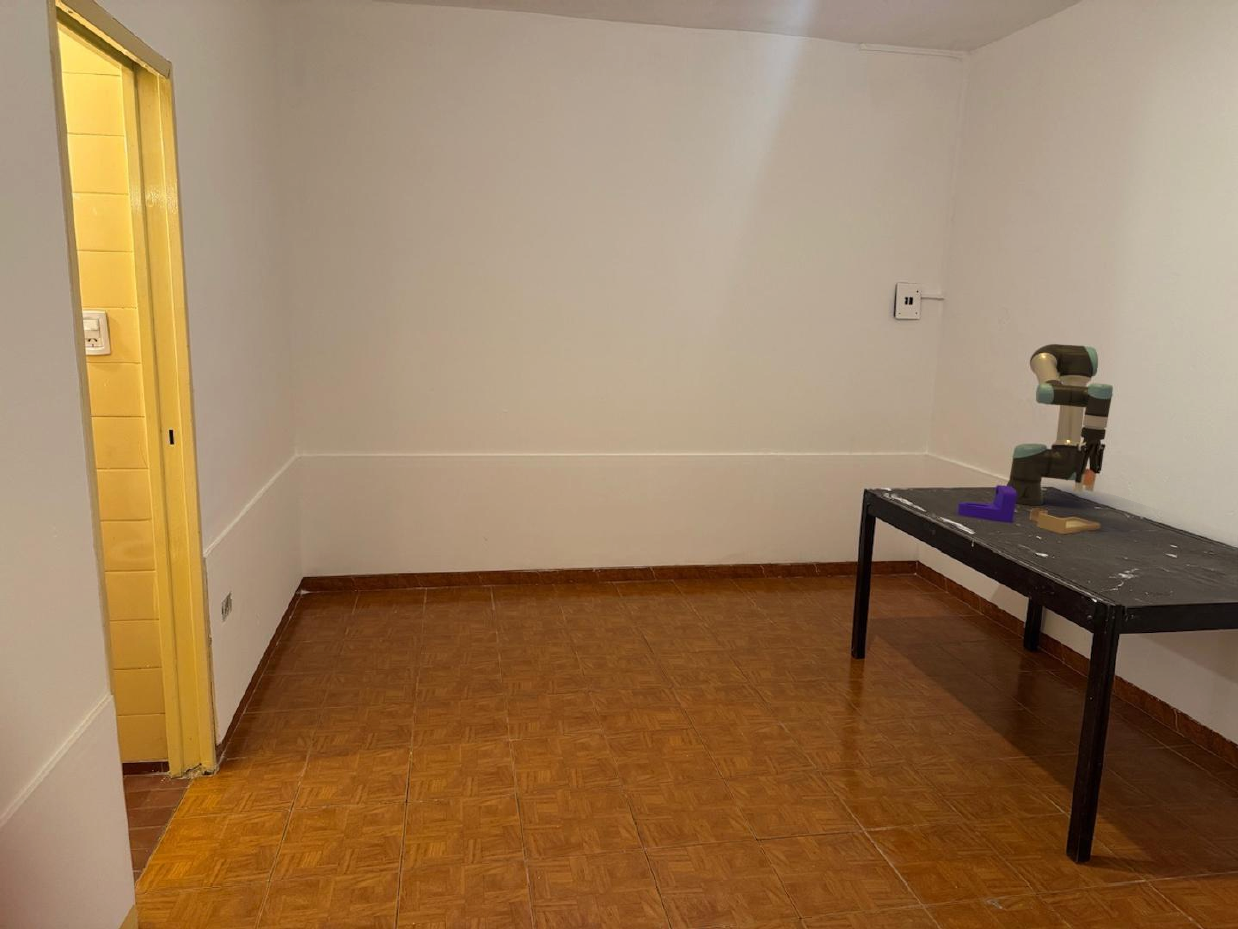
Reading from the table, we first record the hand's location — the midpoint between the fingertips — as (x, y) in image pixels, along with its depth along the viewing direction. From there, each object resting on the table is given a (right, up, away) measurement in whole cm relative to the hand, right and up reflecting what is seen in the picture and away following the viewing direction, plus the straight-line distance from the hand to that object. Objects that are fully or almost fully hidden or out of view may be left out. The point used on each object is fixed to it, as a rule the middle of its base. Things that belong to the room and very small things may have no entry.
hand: (1083, 490), depth 311 cm
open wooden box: (-12, -11, +9) cm, 19 cm away
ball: (0, +5, -1) cm, 5 cm away
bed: (-5, -13, 0) cm, 14 cm away
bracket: (-32, -10, +10) cm, 35 cm away
